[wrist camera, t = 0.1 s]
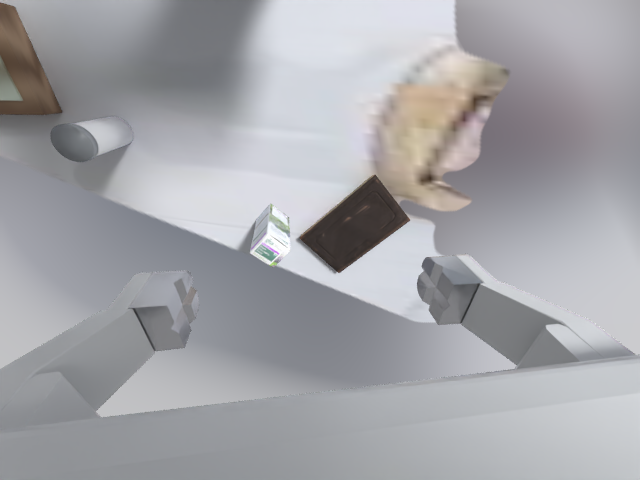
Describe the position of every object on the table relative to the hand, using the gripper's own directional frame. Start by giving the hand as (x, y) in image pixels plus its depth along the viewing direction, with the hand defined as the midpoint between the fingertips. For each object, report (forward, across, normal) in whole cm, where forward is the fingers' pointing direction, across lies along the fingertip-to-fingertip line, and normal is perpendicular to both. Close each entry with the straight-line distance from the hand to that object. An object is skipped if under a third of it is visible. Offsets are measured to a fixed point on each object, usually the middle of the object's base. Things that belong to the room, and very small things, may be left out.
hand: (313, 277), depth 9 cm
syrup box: (+48, +5, +22) cm, 53 cm away
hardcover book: (+48, -15, +24) cm, 56 cm away
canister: (+48, +32, +2) cm, 58 cm away
